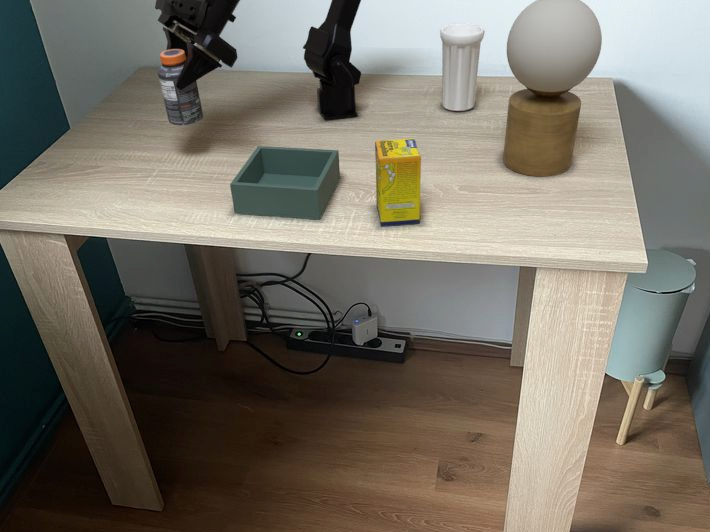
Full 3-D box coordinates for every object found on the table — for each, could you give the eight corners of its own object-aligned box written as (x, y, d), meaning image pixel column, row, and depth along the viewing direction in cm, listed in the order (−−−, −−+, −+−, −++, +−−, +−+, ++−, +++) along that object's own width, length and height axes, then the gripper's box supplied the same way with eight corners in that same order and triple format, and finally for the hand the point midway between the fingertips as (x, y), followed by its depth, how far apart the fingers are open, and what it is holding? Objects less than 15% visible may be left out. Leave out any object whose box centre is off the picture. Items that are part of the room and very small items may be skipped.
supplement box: (375, 207, 112) (374, 140, 105) (414, 204, 112) (415, 137, 105) (379, 227, 107) (378, 158, 100) (420, 224, 107) (421, 154, 100)
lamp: (505, 134, 131) (520, -18, 115) (586, 142, 127) (613, -14, 111) (487, 171, 120) (501, 8, 104) (576, 181, 116) (604, 14, 100)
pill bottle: (203, 110, 127) (190, 44, 120) (204, 124, 122) (191, 55, 115) (168, 115, 126) (153, 48, 119) (168, 128, 122) (153, 60, 114)
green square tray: (261, 173, 122) (257, 145, 119) (340, 178, 120) (338, 150, 116) (234, 213, 112) (229, 184, 109) (319, 220, 110) (317, 189, 106)
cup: (430, 110, 140) (432, 32, 131) (448, 96, 146) (451, 20, 136) (468, 117, 137) (473, 38, 128) (486, 102, 142) (492, 25, 133)
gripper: (156, -45, 117) (108, 41, 120) (205, -24, 105) (151, 71, 107) (209, -2, 125) (163, 77, 128) (260, 22, 113) (209, 109, 116)
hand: (170, 83), depth 119 cm, fingers closed on pill bottle, 6 cm apart
